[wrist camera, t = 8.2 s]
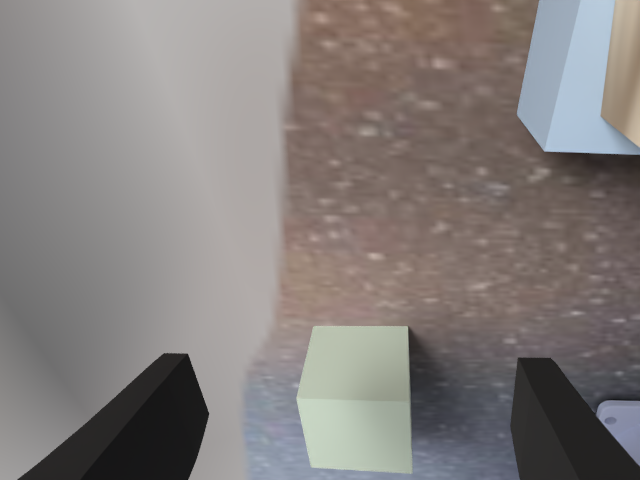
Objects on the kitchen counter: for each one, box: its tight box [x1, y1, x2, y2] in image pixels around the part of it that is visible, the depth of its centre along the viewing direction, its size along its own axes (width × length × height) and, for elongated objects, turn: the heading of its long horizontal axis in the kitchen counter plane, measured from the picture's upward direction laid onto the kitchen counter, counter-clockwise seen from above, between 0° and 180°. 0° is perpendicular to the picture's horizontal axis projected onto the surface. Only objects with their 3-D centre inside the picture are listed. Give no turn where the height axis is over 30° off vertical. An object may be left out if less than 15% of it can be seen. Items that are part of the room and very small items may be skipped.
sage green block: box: [296, 326, 412, 474], centre depth 22 cm, size 4×4×4 cm
